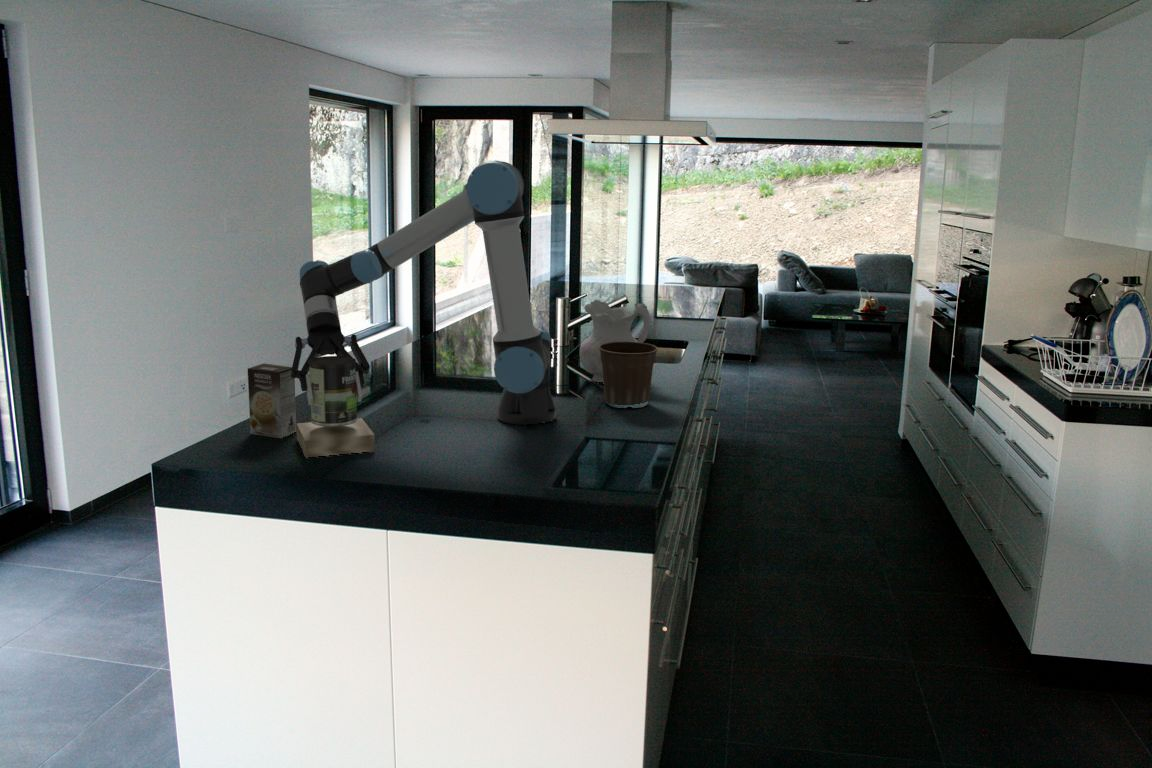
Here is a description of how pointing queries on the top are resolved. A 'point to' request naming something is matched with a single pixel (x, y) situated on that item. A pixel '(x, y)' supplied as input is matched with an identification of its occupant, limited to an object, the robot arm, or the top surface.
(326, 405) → the coffee can
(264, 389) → the coffee box
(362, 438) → the oak base block
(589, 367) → the ceramic pitcher
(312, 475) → the top surface
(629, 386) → the plant pot
